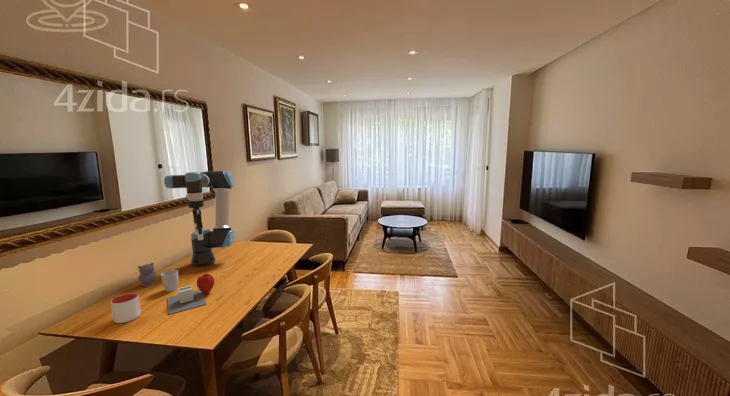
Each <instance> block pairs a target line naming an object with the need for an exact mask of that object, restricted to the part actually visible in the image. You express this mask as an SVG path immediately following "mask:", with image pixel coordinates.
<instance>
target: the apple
mask: <svg viewBox="0 0 730 396" xmlns="http://www.w3.org/2000/svg"><path fill="white" fill-rule="evenodd" d="M196 286H197V289H198V290H200V291H202V292H203V295H208V294H210V292H211V291H212V289H213V288H214V286H215V278H214V276H213V275H212V274H210V273H202V274H201V275H200V276H198V278H197V280H196Z"/></svg>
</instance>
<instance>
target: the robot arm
mask: <svg viewBox="0 0 730 396" xmlns="http://www.w3.org/2000/svg"><path fill="white" fill-rule="evenodd" d="M163 181H164V186H165V188H167V189H172V190H173V189H186V195H185V197H187V200H188V201H187V207H188V208H189V209H192V210H191V211H192V216H193V223H194V224H193V226H194V231H193V232H192V233H191V235H190V240H191V241H190V242H191V249H192V255H191V256H192V257H191V259H190V266H191V267H194V268H195V267H199V268H200V267H206V266H210V265H212V264H214V263H215V262H216V261H217V260H216V257H215V254H214V252H213V249H220V248H221V249H222V248H223V249H224V248H229V247H231V246H233V243H234V240H235V231H234V229H232V226H230V191H232V188H233V187H234V185H235V180H234V176H233V174H232V172H231V171H229V170H213V171H212V170H207V171H203V172H199V171H190V172H186V173H185V174H176V175H175V174H169V175H166V176H165V177H164V179H163ZM203 188H212V190H213V191H214V192H215V226H214V227H213V229H212V231H211V230H210V228H203V227H204V225H203V220H202V210H201V209H200V208H203V207H204V206H205V204H204V193H203Z"/></svg>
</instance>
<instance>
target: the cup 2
mask: <svg viewBox="0 0 730 396" xmlns="http://www.w3.org/2000/svg"><path fill="white" fill-rule="evenodd" d="M160 278H161V282H162V285H163V288H164V290H165V292H166V293H167V292H168V293H169V292H173V291H177V290H178V286H179V285H178V284H179V270H177V269H171V270H170V269H169V270H165V271H162V273H160Z"/></svg>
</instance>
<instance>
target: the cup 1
mask: <svg viewBox="0 0 730 396" xmlns="http://www.w3.org/2000/svg"><path fill="white" fill-rule="evenodd" d="M139 297H140V296H139V294H138V293H135V292H133V293H132V292H131V293H124V294H120V295H118V296H115V297H114V298H112V299H111V300H110V303H109V304H110V308H111V314H112V315H111V316H112V321H113V322H114V323H116V324H124V323H129V322H131V321H133V320H136V319H137V318H139V316H140V315H141V306H140V298H139Z"/></svg>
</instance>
